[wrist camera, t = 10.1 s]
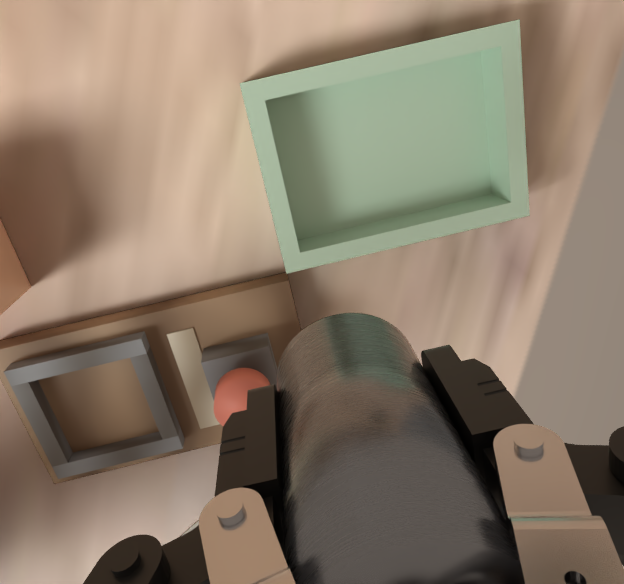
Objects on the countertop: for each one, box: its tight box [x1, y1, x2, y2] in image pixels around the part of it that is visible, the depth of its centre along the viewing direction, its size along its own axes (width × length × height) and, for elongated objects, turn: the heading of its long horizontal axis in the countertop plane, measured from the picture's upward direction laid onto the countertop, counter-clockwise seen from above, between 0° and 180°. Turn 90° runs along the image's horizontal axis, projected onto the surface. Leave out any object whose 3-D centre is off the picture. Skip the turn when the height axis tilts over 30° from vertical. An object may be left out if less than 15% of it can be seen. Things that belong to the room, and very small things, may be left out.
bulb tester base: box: [0, 272, 301, 484], centre depth 32 cm, size 18×10×3 cm, turn 102°
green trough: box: [240, 19, 530, 274], centre depth 29 cm, size 14×10×3 cm
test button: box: [214, 368, 270, 426], centre depth 29 cm, size 3×3×2 cm
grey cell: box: [277, 313, 519, 584], centre depth 11 cm, size 4×4×8 cm
